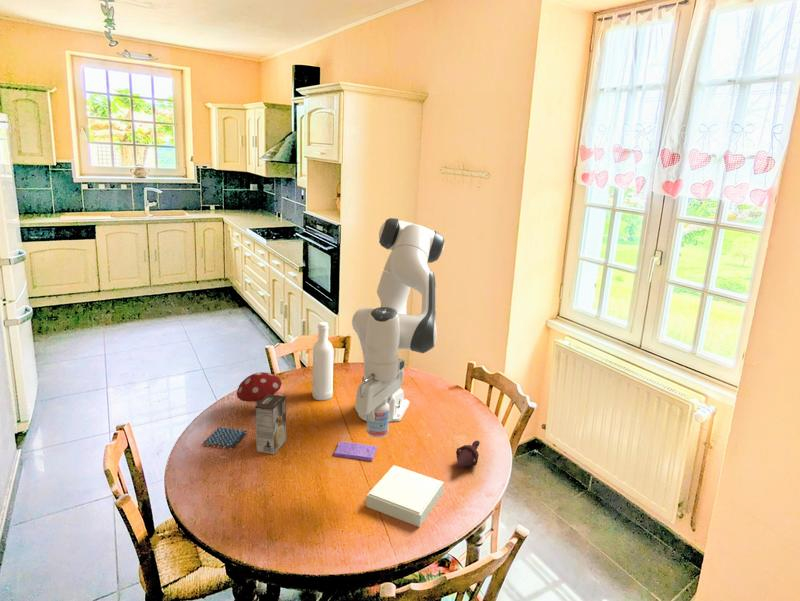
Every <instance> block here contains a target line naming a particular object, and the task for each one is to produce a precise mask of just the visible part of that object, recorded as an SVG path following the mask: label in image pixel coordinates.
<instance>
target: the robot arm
mask: <svg viewBox="0 0 800 601" xmlns="http://www.w3.org/2000/svg"><path fill="white" fill-rule="evenodd" d="M378 240H379V241H378V242H379V244H380V246H381V247H382V248H384V249H386V250H391V251H390V254H389V256H388V257H387V260H386V262H385V264H384V267H383V271H382V273H381V276H380V279H379V283H378V286H377V289H376V294H377V296H378V299H379V302H380V307H377V308H376V307H375V308H373V307H361V308H359V309H358V310H356V311H355V313H354V314H353V316H352V319H351V326H352V329H353V330H354V332H355V333H356V335H357V337H358V340H359V343H360V347H361V351H362V356H363V376H362V380H361V383H359V385H358V386H357V390H356V395H355V405H354V409H355V411H356V412H357V416H358V417H359V418H360V419H361V420H363V421H365V422H367V414H368V421H370V422H374V421H375V420H376V414H374V411H375V408H376V407H378V406H379V405H380V404H381V403H382V402H383V401H384V399H385V398H386V397H388V400H387V403H388V404H389V407H390V409H389V423H391V422H400V421H401V420H402V418H403V416H404V415H405V413H406V411H407V410H408V408H409V406H410V400H409V399H407V398H405V393H404V392H405V391H404V389H402V388H401V387H402V385H403V382H404V371H405V370H404V368H405V367H406V360H405V359H403V358H400V357H399V354H398V351H401V350H406V351H407V350H408V351H412V352H415V353H419V354H425V353H427V352H429V351H430V350H432V349H433V348H434V347H435V345H436V343H437V339H438V328H437V322H436V315H437V314H436V313H437V312H436V305H437V304H436V303H437V302H436V300H437V299H436V294H437V292H436V288H437V287H436V277H435V273H434V271H432V269H430V268H429V266H428V264H429V263H434V262H437V261H438V260H439V258H440V257H441V256H442V254H443V252H444V249H445V238H444V236H443V234H442V233H440V232H439V231H436V230H432V229H430V228H428V227H425V226H424V225H421V224H416V223H414V222H410V221H409V222H408V221H405V220H400V219H399V218H395V217H394V218H392V217H390V218H388V219H385V221H384V222H383V223H382V225H381V226H380V229H379V231H378ZM411 288H412V289H414V290H415V291H417V292H418V293H420V295H421V313H420V314H418V315H414V314H413V315H412V314H407V312H408V311H407V310H408V309H407V305H408V299H409V295H410V291H411Z"/></svg>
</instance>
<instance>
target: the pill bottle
mask: <svg viewBox="0 0 800 601" xmlns="http://www.w3.org/2000/svg"><path fill="white" fill-rule="evenodd" d="M387 400H388V397H386V398H385V399H384V401H383V402H382V403H381V404H380V405H379V406H378V407H376V408H375V411H374V414H376V420H375V421H374V422H370V421H368V414H367V421H366V433H367V435H368V436H369V437H372V438H376V439H378V438H384V437H385V436H387V435H388V433H389V425H390V424H389V423H390V422H389V409H390V407H389V404H388V403H387Z"/></svg>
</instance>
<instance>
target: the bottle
mask: <svg viewBox="0 0 800 601" xmlns="http://www.w3.org/2000/svg"><path fill="white" fill-rule="evenodd" d="M317 328H318V330H317V332H318V336H317V337H318V340H317V341H316V342H315V343H314V344H313V348H312V390H311V391H312V394H311V395H312V398H313V399H314V400H317V401H329V400H330V399H331V398H333V394H334V387H333V385H334V383H333V382H334V347H333V344H332V343H331V342H330V341H329V323H328V322H326V321H320V322H319V323H318V325H317Z"/></svg>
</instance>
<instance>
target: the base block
mask: <svg viewBox="0 0 800 601" xmlns="http://www.w3.org/2000/svg"><path fill="white" fill-rule="evenodd" d="M444 485H445V484H444V481H442V480H438V479H436V478H434V477H430V476H427V475H424V474H421V473H418V472H415V471H413V470H412V471H411V470H410V469H407V468H404V467H400V466H397V465H395V464H394V465H392V466H391V467H390V468H389V470H388V471H386V472H385V474H384V475H383V476H382V478H380V480H379V481H378V482H377V483H376V484H375V485H374V487H373V488H371V489H370V491H368V493H367V494H366V501H365V502H366V504H365V505H366V507H367V508H369V509H372V510H375V511H377V512H380V513H382V514H385V515H387V516H390V517H392V518H394V519H398V520H400V521H402V522H405V523H408V524H411V525H413V526H415V527H418V528H421V526H422V525H423V523H424V521H425V520H426V519H427V517H428V516H429V515H430V513H431V511H432V509H433V508H434V507H435V505H436V504H437V502H438V501H439V499H440V498H441V496H442V495H443V493H444Z"/></svg>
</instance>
